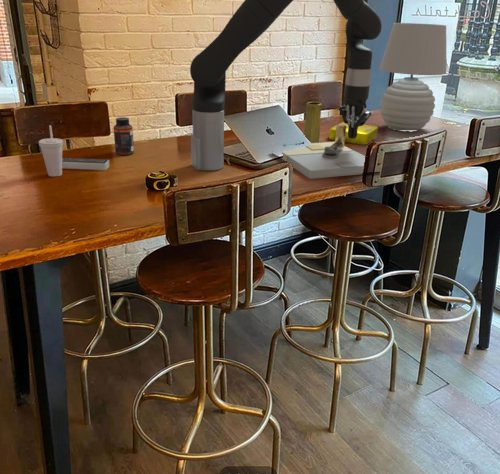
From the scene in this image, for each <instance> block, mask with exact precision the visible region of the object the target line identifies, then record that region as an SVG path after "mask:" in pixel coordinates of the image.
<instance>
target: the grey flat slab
mask: <svg viewBox="0 0 500 474" xmlns="http://www.w3.org/2000/svg"><path fill="white" fill-rule="evenodd" d="M334 143H335V141H325V142H319V143H311V145H308V146H304V147H301V148H297V149H294V150H289V151H284V152H282V154H283V158H284V159H285V161H287V163H290V164H292V165H293V167H292V168H293V169H295V170H296V171H298V172H299V173H301V174H302V175H303V176H304V177H306V178H308V179H309V180H312V179H323V178H333V177H344V176H354V175H355V176H356V175H357V176H358V175H363V174H362V173H363V169H364V162H365V155H363V154H361V153H359V152H357V151H356V150H354V149H351V148H350V147H347V146H346V145H344V148H341V149H340V150H339V151H338V152H337V155H334V156H331V155H326V154H324V150H325V147H330V146H331V145H332V144H334ZM287 163H286V164H287Z"/></svg>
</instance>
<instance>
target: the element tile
mask: <svg viewBox="0 0 500 474" xmlns="http://www.w3.org/2000/svg"><path fill="white" fill-rule="evenodd" d="M337 125H346V135H345V143H351V144H356V143H357V144H356V145H368V143H369V142H370V143H372V142H373V141H374V140H376V139H377V138H378V131H379V128H378V126H376V125H368V124H364V125H363V126H359V127H358V130H357V137H356V138H355V139H351V138H348V127H349V126H348V124H347V123H344V121H342V122H340V123H337V124H336V125H334V126H332V127H330V128H329V137H328V138H329V139H328V140H332V141H335V136H336V126H337ZM376 137H377V138H376ZM375 138H376V139H375ZM373 139H374V140H373ZM372 140H373V141H372ZM370 143H369V144H370Z"/></svg>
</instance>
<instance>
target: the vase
mask: <svg viewBox="0 0 500 474" xmlns="http://www.w3.org/2000/svg"><path fill="white" fill-rule="evenodd" d="M322 106H323V105H322V103H321V102H319V101H309V102H306V106H305V109H306V110H305V120H304V126H303V127H304V129H303V136H304V135H305V137H306V138H307V139H308V140H309V141H310V142H311V143H320V134H321V130H320V129H321V117H322Z"/></svg>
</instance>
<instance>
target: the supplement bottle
mask: <svg viewBox="0 0 500 474" xmlns="http://www.w3.org/2000/svg"><path fill="white" fill-rule="evenodd" d="M115 123H116V124H115V125H113V138H114V140H113V141H114V149H115V154H117V155H119V156H129V155H133V154H134V153H135V146H134V144H135V143H134V130H133V126H132V125H131V124H130V118H128V117H123V116H122V117H121V116H120V117H116V118H115Z"/></svg>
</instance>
